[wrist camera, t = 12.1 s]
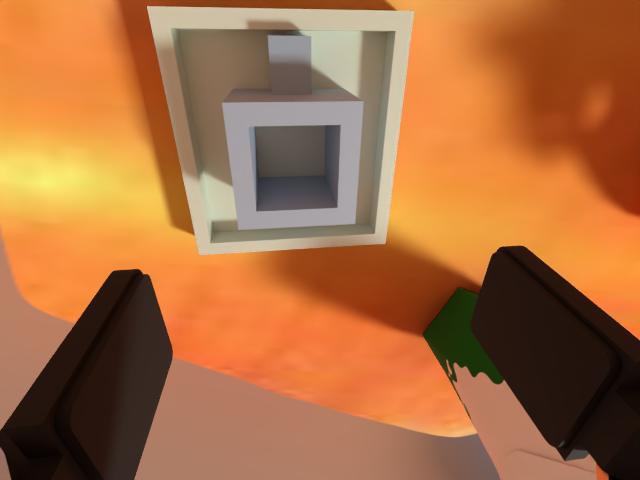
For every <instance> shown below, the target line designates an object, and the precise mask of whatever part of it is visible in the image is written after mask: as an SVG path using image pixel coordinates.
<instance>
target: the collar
mask: <svg viewBox="0 0 640 480" xmlns="http://www.w3.org/2000/svg"><path fill="white" fill-rule="evenodd" d="M268 47H269V64H270V81H271V89H233V90H232V91H231V92H230V93H229V95H228V96H227V97H226V98H225V99H224V101H223V102H222V107H223V115H224V122H225V130H226V138H227V145H228V153H229V161H230V168H231V176H232V184H233V191H234V199H235V207H236V214H237V222H238V230H247V229H267V228H286V227H306V226H325V225H344V224H355V219H356V205H357V191H358V177H359V162H360V148H361V134H362V119H363V105H364V101H363V100H361V99H359V98H358V97H356V96H355V95H353V94H351V93H350V92H348V91H347V90H345V89H344V88H311V36H274V35H268ZM308 125H325V173H324V175H320V176H291V177H262V178H259V168H258V156H257V145H256V133H255V126H308Z"/></svg>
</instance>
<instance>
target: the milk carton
mask: <svg viewBox="0 0 640 480" xmlns="http://www.w3.org/2000/svg"><path fill="white" fill-rule="evenodd" d="M478 297H479V294H478V293H475V292H472V291H469V290H466V289H462V288H460V287H459V288H458V289H457V291H456V292H455V293H454V295H453V296H452V297H451V298H450V300H449V301H448V302H447V304H446V305H445V306H444V307H443V309H442V310H441V311H440V313H439V314H438V315H437V316H436V318H435V319H434V320H433V322H432V323H431V324H430V325H429V327H428V328H427V329H426V331H425V332H424V333H423V336H424V338H425V340H426V341H427V343H428V345H429V346H430V348H431V350H432V351H433V353H434V355H435V356H436V358H437V360H438V361H439V363H440V365H441V366H442V368H443V370H444V371H445V373H446V375H447V376H448V378H449V380H450V382H451V383H452V385H453V387H454V389H455V391H456V393H457V395H458V397H459V399H460V400H461V402H462V404H463V406H464V408H465V410H466V412H467V414H468V416H469V417H470V419H471V421H472V423H473V425H474V427H475V429H476V431H477V433H478V435H479V436H480V438H481V440H482V442H483V444H484V446H485V448H486V450H487V451H488V454H489V455H490V457H491V459H492V461H493V463H494V465H495V467H496V469H497V471H498V474H499V476H500V479H501V480H597V473H596V462H595V461H594V459H593V458H592V457H591V455H590V454H589V455H588V456H587V457H586V458H584V459H577V460H570V461H564V460H563V458H562V457H561V455H560V454H559V452H558V451H557V449H556V448H555V447H552V446H551V445H549V444H548V443H547V442H546V440H545V439H544V438H543V436H542V435H541V433H540V432H539V430H538V429H537V427H536V426H535V424H534V423H533V421H532V420H531V419H530V417H529V416H528V414H527V413H526V411H525V410H524V408H523V407H522V405H521V404H520V402H519V401H518V399H517V398H516V397H515V395H514V394H513V392H512V391H511V389H510V388H509V386H508V385H507V383H506V382H505V380H504V379H503V377H502V376H501V375H500V373H499V372H498V370H497V369H496V367H495V366H494V364H493V363H492V361H491V360H490V358H489V357H488V355H487V354H486V353H485V351H484V350H483V348H482V347H481V345H480V344H479V342H478V341H477V339H476V338H475V336H474V335H473V333H472V331H471V327H470V322H471V318H472V315H473V312H474V309H475V306H476V303H477V300H478Z"/></svg>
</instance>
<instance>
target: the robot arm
mask: <svg viewBox="0 0 640 480" xmlns="http://www.w3.org/2000/svg"><path fill="white" fill-rule="evenodd" d="M470 327H471V331H472V333H473V335H474V336H475V338H476V339H477V341H478V342H479V344H480V345H481V347H482V348H483V350H484V351H485V353H486V354H487V355H488V357H489V358H490V360H491V361H492V363H493V364H494V366H495V367H496V369H497V370H498V372H499V373H500V375H501V376H502V377H503V379H504V380H505V382H506V383H507V385H508V386H509V388H510V389H511V391H512V392H513V394H514V395H515V397H516V398H517V399H518V401H519V402H520V404H521V405H522V407H523V408H524V410H525V411H526V413H527V414H528V416H529V417H530V419H531V420H532V421H533V423H534V424H535V426H536V427H537V429H538V430H539V432H540V433H541V435H542V436H543V438H544V439H545V440H546V442H547V443H548V444H549V445H551V446H552V447H555V448H556V449H557V451H558V452H559V454H560V455H561V457H562V458H563V460H564V461H570V460H577V459H584V458H586V457H587V456H588V455H589V454H590V455H591V457H592V458H593V459H594V461H595V462H596V473H597V480H640V340H639V339H637V338H636V337H635V336H634V335H632V334H631V333H630V332H629V331H627V330H626V329H625V328H624V327H623V326H621V325H620V324H619V323H618V322H616V321H615V320H614V319H613V318H612V317H610V316H609V315H608V314H607V313H605V312H604V311H603V310H602V309H601V308H599V307H598V306H597V305H596V304H594V303H593V302H592V301H591V300H590V299H588V298H587V297H586V296H585V295H583V294H582V293H581V292H580V291H579V290H577V289H576V288H575V287H574V286H572V285H571V284H570V283H569V282H568V281H566V280H565V279H564V278H563V277H561V276H560V275H559V274H558V273H557V272H555V271H554V270H553V269H552V268H550V267H549V266H548V265H547V264H545V263H544V262H543V261H542V260H541V259H539V258H538V257H537V256H536V255H534V254H533V253H532V252H531V251H530V250H528V249H527V248H526V247H524V246H506V247H500V248H499V249H498V250H497V252H495V253H493V254H492V256H491V259H490V262H489V265H488V268H487V272H486V275H485V278H484V281H483V284H482V287H481V290H480V293H479V297H478V300H477V303H476V306H475V309H474V312H473V315H472V318H471V322H470ZM172 356H173V351H172V345H171V342H170V339H169V336H168V333H167V329H166V326H165V323H164V320H163V317H162V314H161V310H160V307H159V304H158V301H157V298H156V294H155V291H154V288H153V285H152V282H151V279H150V276H149V275H147V274H143V273H142V272H141V271H140V270H139V269H132V270H116V271H113V272H112V273H111V274H110V275H109V277H108V278H107V279H106V281H105V282H104V284H103V285H102V287H101V288H100V289H99V291H98V292H97V294H96V295H95V297H94V298H93V299H92V301H91V302H90V304H89V305H88V307H87V308H86V310H85V311H84V312H83V314H82V315H81V317H80V318H79V320H78V321H77V322H76V324H75V325H74V327H73V328H72V330H71V331H70V332H69V334H68V335H67V336H66V338H65V339H64V341H63V342H62V344H61V345H60V346H59V348H58V349H57V351H56V352H55V354H54V355H53V356H52V358H51V359H50V361H49V362H48V363H47V365H46V366H45V368H44V369H43V371H42V372H41V373H40V375H39V376H38V378H37V379H36V381H35V382H34V383H33V385H32V387H31V388H30V389H29V391H28V392H27V394H26V395H25V396H24V398H23V399H22V401H21V402H20V403H19V405H18V406H17V408H16V409H15V411H14V412H13V413H12V415H11V416H10V418H9V419H8V421H7V422H6V423H5V425H4V426H3V428H2V429H1V430H0V480H134V478H135V475H136V472H137V469H138V466H139V463H140V459H141V456H142V453H143V450H144V447H145V443H146V440H147V437H148V434H149V431H150V428H151V425H152V422H153V418H154V415H155V412H156V409H157V406H158V402H159V399H160V396H161V393H162V390H163V387H164V384H165V380H166V377H167V374H168V371H169V368H170V365H171V361H172Z"/></svg>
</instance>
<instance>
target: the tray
mask: <svg viewBox="0 0 640 480" xmlns="http://www.w3.org/2000/svg"><path fill="white" fill-rule="evenodd" d="M147 10H148V14H149V19H150V24H151V29H152V33H153V38H154V43H155V48H156V52H157V57H158V62H159V67H160V71H161V76H162V81H163V86H164V90H165V95H166V100H167V105H168V109H169V114H170V119H171V123H172V128H173V133H174V138H175V142H176V147H177V152H178V157H179V161H180V166H181V171H182V176H183V180H184V185H185V190H186V195H187V199H188V204H189V209H190V214H191V218H192V223H193V228H194V233H195V237H196V242H197V247H198V252H199V255H209V254H226V253H242V252H258V251H275V250H291V249H308V248H324V247H340V246H357V245H373V244H386V236H387V228H388V220H389V211H390V203H391V195H392V187H393V179H394V171H395V163H396V155H397V146H398V138H399V130H400V122H401V114H402V106H403V98H404V90H405V81H406V73H407V65H408V57H409V49H410V41H411V33H412V25H413V16H414V11H385V10H330V9H276V8H221V7H167V6H147ZM268 35H274V36H311V88H344V89H345V90H347V91H348V92H350V93H351V94H353V95H355V96H356V97H358V98H359V99H361V100H363V101H364V105H363V119H362V134H361V148H360V162H359V177H358V191H357V205H356V219H355V224H344V225H325V226H306V227H286V228H267V229H247V230H238V222H237V214H236V207H235V199H234V191H233V184H232V176H231V168H230V161H229V153H228V145H227V138H226V130H225V122H224V115H223V107H222V102H223V101H224V99H225V98H226V97H227V96H228V95H229V93H230V92H231V91H232V90H233V89H271V81H270V64H269V47H268ZM255 133H256V145H257V156H258V168H259V178H262V177H291V176H320V175H324V173H325V125H308V126H255Z"/></svg>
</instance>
